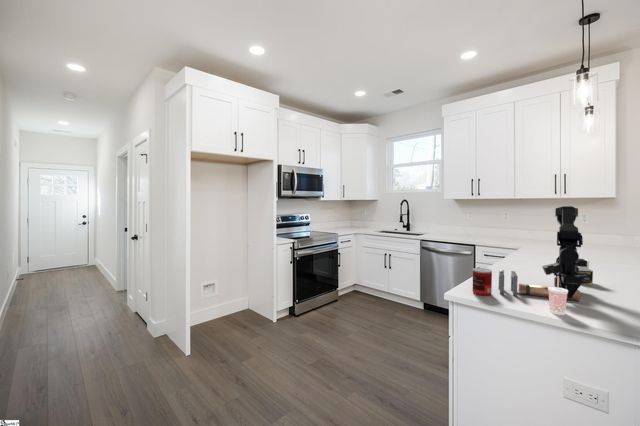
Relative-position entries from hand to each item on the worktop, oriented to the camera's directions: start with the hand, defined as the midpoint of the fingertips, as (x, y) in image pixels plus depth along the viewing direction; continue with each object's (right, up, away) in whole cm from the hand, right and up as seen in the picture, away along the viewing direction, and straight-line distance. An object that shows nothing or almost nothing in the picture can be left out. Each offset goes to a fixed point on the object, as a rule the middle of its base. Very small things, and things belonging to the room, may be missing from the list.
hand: (566, 294), depth 127 cm
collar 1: (-21, -2, +11) cm, 24 cm away
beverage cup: (-16, -3, -14) cm, 21 cm away
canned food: (-32, -2, +9) cm, 33 cm away
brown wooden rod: (-6, -2, +3) cm, 7 cm away
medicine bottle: (+28, -1, +25) cm, 37 cm away
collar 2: (-17, -2, +9) cm, 19 cm away
